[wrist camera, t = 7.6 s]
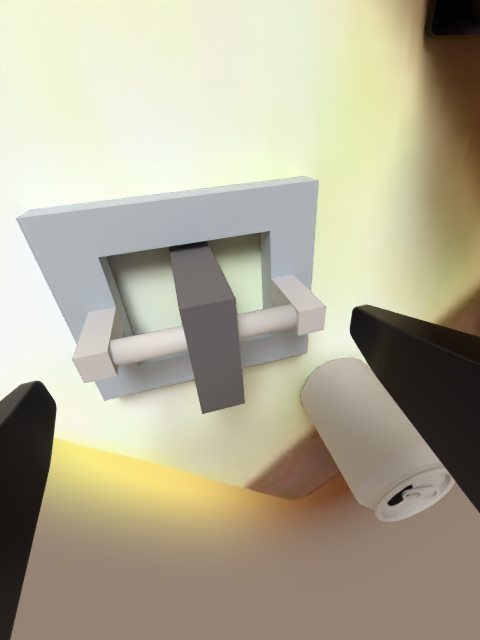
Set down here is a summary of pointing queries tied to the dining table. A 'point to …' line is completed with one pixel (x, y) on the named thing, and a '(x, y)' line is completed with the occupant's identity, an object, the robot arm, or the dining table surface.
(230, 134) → the dining table surface
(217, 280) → the tall grey upright block
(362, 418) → the can
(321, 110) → the dining table surface
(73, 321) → the square frame
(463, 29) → the robot arm
